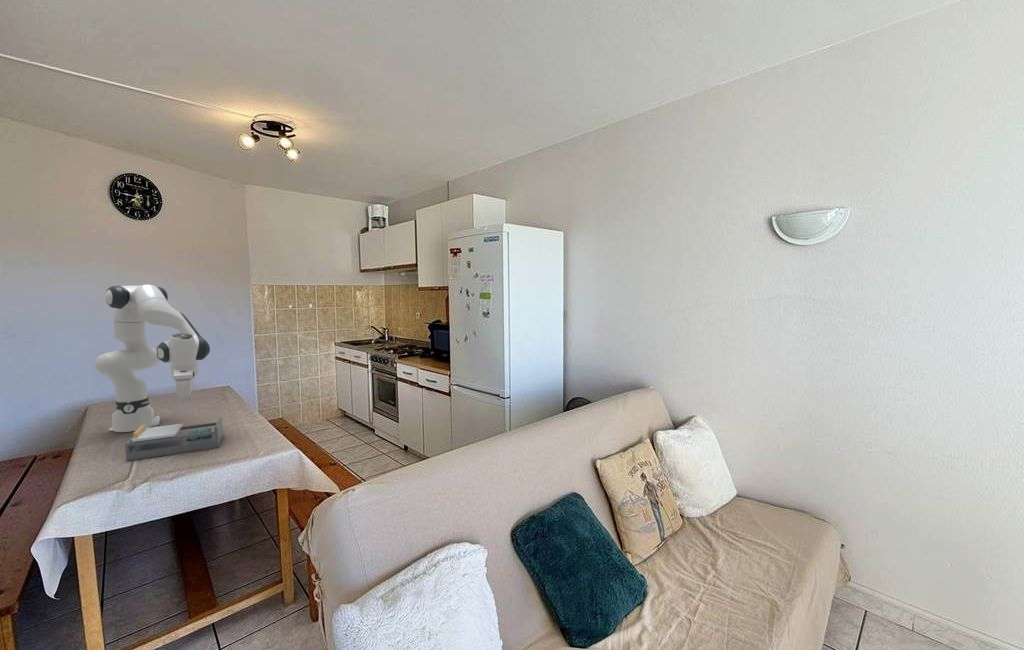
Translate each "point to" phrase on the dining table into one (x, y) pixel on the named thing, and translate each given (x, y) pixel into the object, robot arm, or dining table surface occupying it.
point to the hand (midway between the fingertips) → (186, 403)
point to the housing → (176, 442)
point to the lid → (156, 432)
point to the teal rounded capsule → (193, 433)
